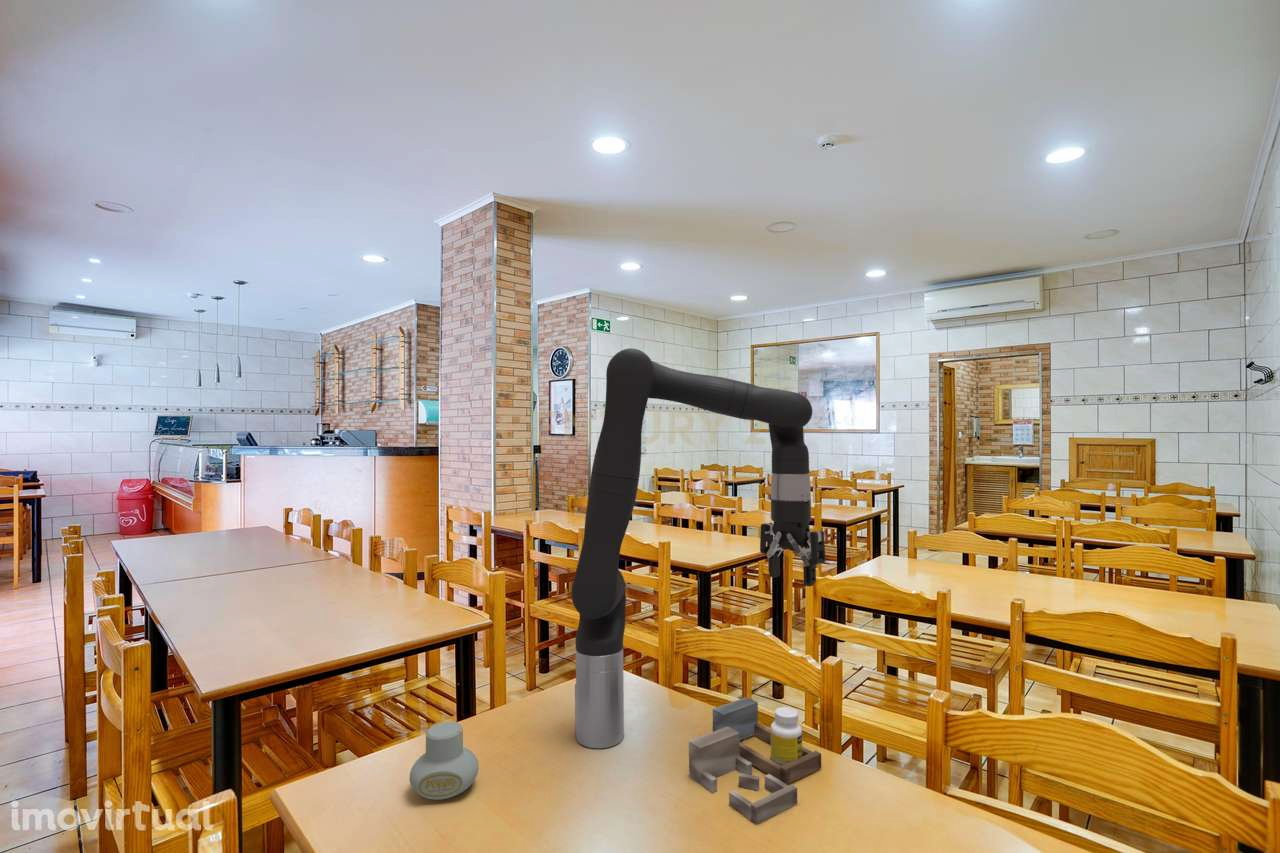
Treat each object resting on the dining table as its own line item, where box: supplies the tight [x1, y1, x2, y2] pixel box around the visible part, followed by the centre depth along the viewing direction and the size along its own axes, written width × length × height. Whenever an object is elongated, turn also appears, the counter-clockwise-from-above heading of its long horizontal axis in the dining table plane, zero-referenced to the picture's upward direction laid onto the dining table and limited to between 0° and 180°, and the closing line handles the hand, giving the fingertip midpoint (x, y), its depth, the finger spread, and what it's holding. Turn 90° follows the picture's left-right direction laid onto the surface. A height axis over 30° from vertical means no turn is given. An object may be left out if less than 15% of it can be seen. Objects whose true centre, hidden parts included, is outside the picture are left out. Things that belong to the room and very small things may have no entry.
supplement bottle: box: [770, 706, 803, 766], centre depth 108 cm, size 5×5×10 cm
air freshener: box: [409, 721, 480, 801], centre depth 102 cm, size 11×8×10 cm
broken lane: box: [688, 727, 798, 825], centre depth 101 cm, size 16×9×6 cm, turn 34°
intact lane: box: [712, 696, 822, 785], centre depth 112 cm, size 18×9×6 cm, turn 34°
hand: (791, 581), depth 118 cm, fingers open, 8 cm apart
